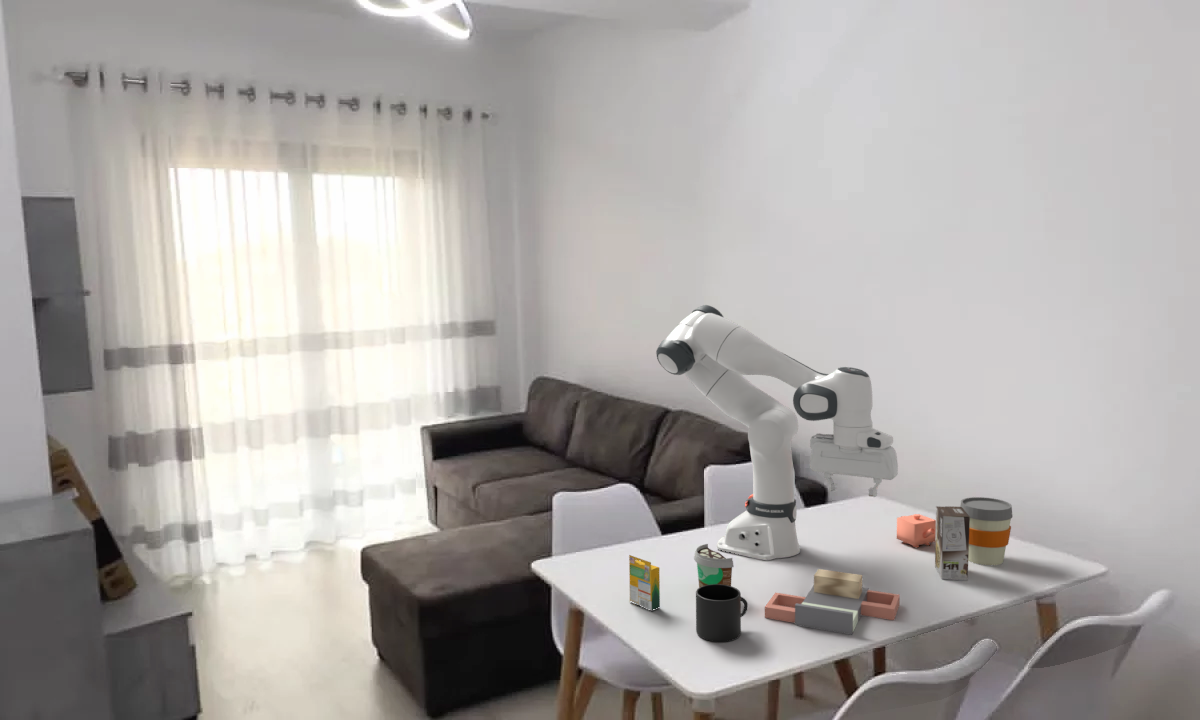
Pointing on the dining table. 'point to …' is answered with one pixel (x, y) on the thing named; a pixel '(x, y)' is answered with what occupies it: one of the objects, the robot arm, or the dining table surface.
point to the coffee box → (952, 543)
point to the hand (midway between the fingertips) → (852, 493)
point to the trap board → (832, 609)
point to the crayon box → (644, 583)
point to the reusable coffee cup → (987, 529)
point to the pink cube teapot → (916, 529)
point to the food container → (712, 567)
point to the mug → (719, 612)
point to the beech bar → (838, 583)
